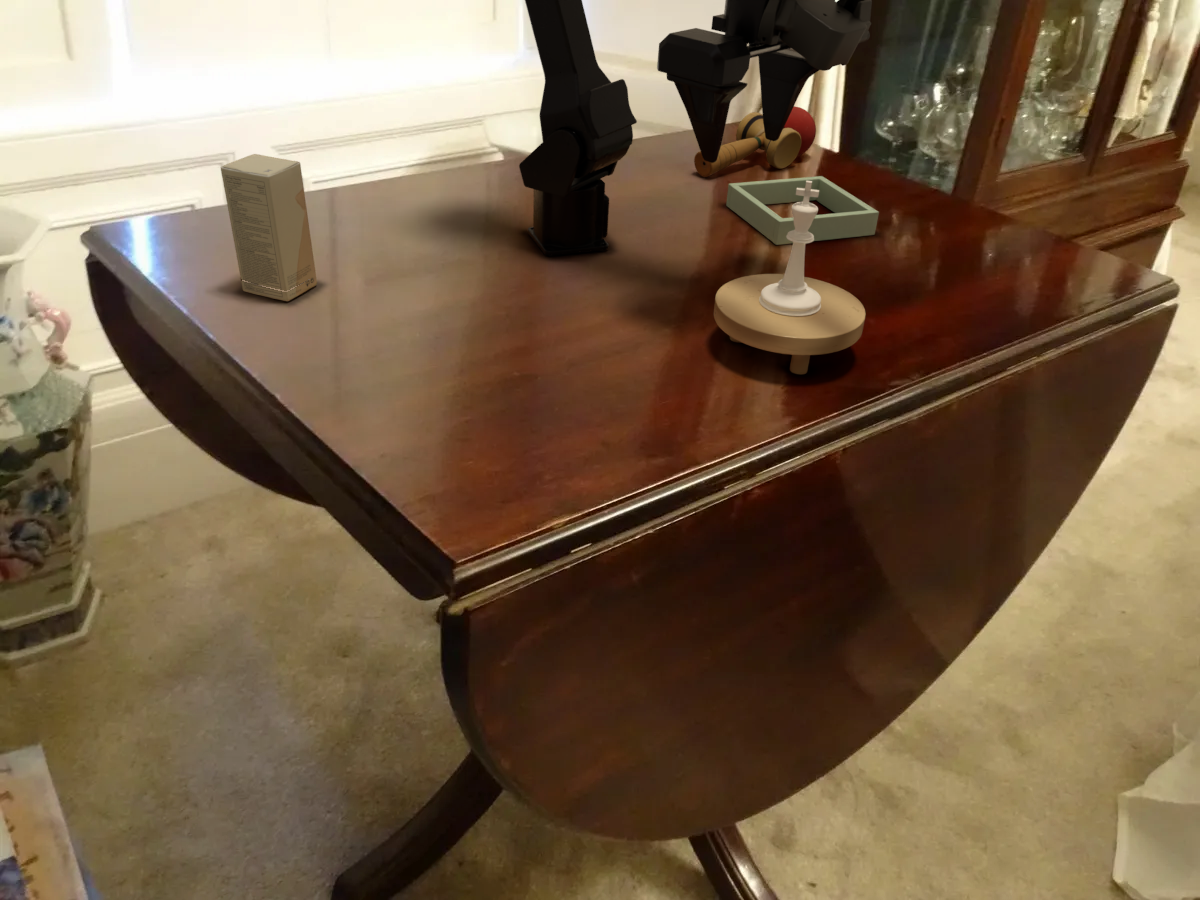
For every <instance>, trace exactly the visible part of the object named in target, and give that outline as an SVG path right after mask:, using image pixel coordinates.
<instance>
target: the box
mask: <svg viewBox="0 0 1200 900" xmlns="http://www.w3.org/2000/svg"><path fill="white" fill-rule="evenodd" d="M220 172H221V177H222V183H223V184H222V185H223V188H224V193H225V199H226V205H227V206H226V207H227V211H228V216H229V221H230V227H231V232H232V233H231V234H232V238H233V243H234V249H235V255H236V260H237V266H238V271H239V277H240V282H241V283H240V284H241V288H242V291H243V292H246V293H249V294H253V295H257V296H262V297H266V298H269V299H275V300H279V301H284V302H289V301H291V300H293V299H295V298H296V297H298V296H300V295H302V294H303V293H306V292H307V291H309V290H310V289H312V288H314V287H315V286H317V285H318V279H317V273H316V266H315V259H314V251H313V245H312V237H311V229H310V223H309V218H308V217H309V216H308V209H307V203H306V195H305V188H304V179H303V173H302V166H301V162H300V161H298V160H291V159H287V158H286V159H285V158H281V157H280V158H279V157H275V156H269V155H264V154H258V153H253V154H249V155H247V156H244V157H242V158H239V159H236V160H234V161H231V162H229V163H226V164H223V165H221V166H220ZM241 279H242V280H245V281H248V282H251V283H254V284H257V285H254V284H251V283H247V282H244V281H241ZM308 279H310V280H308ZM307 280H308V281H307ZM305 281H306V282H305ZM303 282H304V283H303ZM301 283H303V284H301ZM300 284H301V285H300ZM258 285H263V286H266V287H271V288H275V289H280V290H284V291H287V290H290V289H291V288H293V287H295V286H297V287H295V288H294V289H292V290H290V291H288V292H282V291H278V290H274V289H270V288H266V287H262V286H258ZM298 285H299V286H298Z"/></svg>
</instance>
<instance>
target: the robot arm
mask: <svg viewBox="0 0 1200 900" xmlns="http://www.w3.org/2000/svg"><path fill="white" fill-rule="evenodd" d="M524 3H525V6H526V10H527V15H528V18H529V21H530V25H531V30H532V34H533V37H534V41H535V45H536V49H537V52H538V57H539V60H540V64H541V67H542V71H543V76H544V85H543V91H542V97H541V103H540V110H539V124H540V131H541V139H542V142H541V143H540V144H539V145H538V146H537V147H536V148H535V149H533V150H532V152H531V153H529V154H528V155H527V156H526V157H525V158H524V159H523V160H522V161H521V162H520V163H519V165H518V167H519V172H520V175H521V179H522V183H523V185H524V187H526V188H528V189H532V190H533V202H532V203H533V204H532V205H533V209H532V210H533V212H532V213H533V214H532V216H533V217H532V219H533V220H532V221H533V222H532V226H529V227H527V234H528V235H529V236H530V237H531V239H532V240H533V242H534V243H536V245H537V246H538V247H539V248H540V250H541V252H542V253H543V254H544V255H545V256H558V255H569V254H579V253H589V252H590V253H591V252H599V251H607V250H609V243H608V242H607V240H606V239H604V238H607V237H608V231H609V229H608V228H609V212H610V211H609V210H610V197H609V196H608V195H607V194H605V193H606V182H604V181H603V178H605V177H609V176H612V175H613V174H614V172H615V169H616V167H617V164H618V162H619V161H621V159H623V158H624V157H625V156H626V155H627V153H628V151H629V150H630V147H631V145H633V140H634V132H633V126H634V125H635V124H637V122H638V121H637V119H636V117H635V116H634V114H633V111H632V109H631V106H630V101H629V90H628V86H627V83H626V80H625V79H623V78H620V79H618V80H614V81H611V80H610V79H609V78H608V76H607V75H606V74H605V72H604V71H603V70H602V68H601V67H600V65H599V64H598V61H597V58H596V53H595V50H594V46H593V40H592V36H591V32H590V28H589V24H588V19H587V16H586V12H585V7H584V3H583V0H524ZM872 4H873V1H872V0H837V1H836V0H725V3H724V11H723V13H722V14H721V13H720V14H716V15H712V21H711V27H710V28H711V30H712V31H711V30H706V29H702V28H698V27H694V28H689V29H684V30H679V31H675V32H670V33H668V34H667V35H666V36H665V37H664V38H663V39H662V40H661V41H660V42H658V51H657V64H656V69H657V72H661V73H664V74H666V80H667V81H669V82H672V83H674V86H675V89H676V90H677V93H678V95H679V98H680V99H681V102H682V104H683V106H684V108H685V111H686V113H687V116H688V120H689V121H690V125H691V128H692V130H693V133H694V136H695V139H696V142H697V145H698V147H699V150H700V151H701V154H702V157H703V159H704V160H705V161H708V162H711V163H714V162H716V161H717V158H718V154H719V151H720V147H721V145H722V143H723V138H724V134H725V129H726V123H727V119H728V115H729V110H730V105H731V102H732V100H733V99H734V98H736V96H737V95H739V94H740V93H741V92H742V91H743V90H744V89H746V87H747V86H748V83H747V82H744V81H743V79H744V77H745V76H746V74H747V73H748V71H749V69H750V62H751V59H752V58H756V57H758V70H759V83H760V96H761V97H760V98H761V108H762V109H761V111H762V113H761V114H762V115H763V124H764V131H765V137H766V139H768V140H771V141H777V140H778V139H779V137H780V134H781V132H782V130H783V128H784V126H785V124H786V122H787V120H788V117H789V115H790V113H791V111H792V109H793V107H794V106H795V104H796V103H797V100H798V98H799V96H800V95H801V93H802V90H803V89H804V86H805V85H806V83H807V81H808V80H809V79H810V78H811V77H812V76H814V75H815V74H816V73H818V72H819V71H823V72H827V71H830V70H831V69H832V68H833V67H837V66H846V65H848V64H849V62H850V60H851V59H852V56H853V54H854V52H855V51H856V48H857V47H858V45H859V44H862V43H865V42H868V41H869V39H870V37H871V33H870V31H869V29H870V27H871V25H872V22H871V18H872V17H871V16H872V6H873V5H872ZM715 31H716V32H715ZM720 32H721V33H720ZM723 33H724V34H723ZM700 151H699V152H700Z"/></svg>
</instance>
